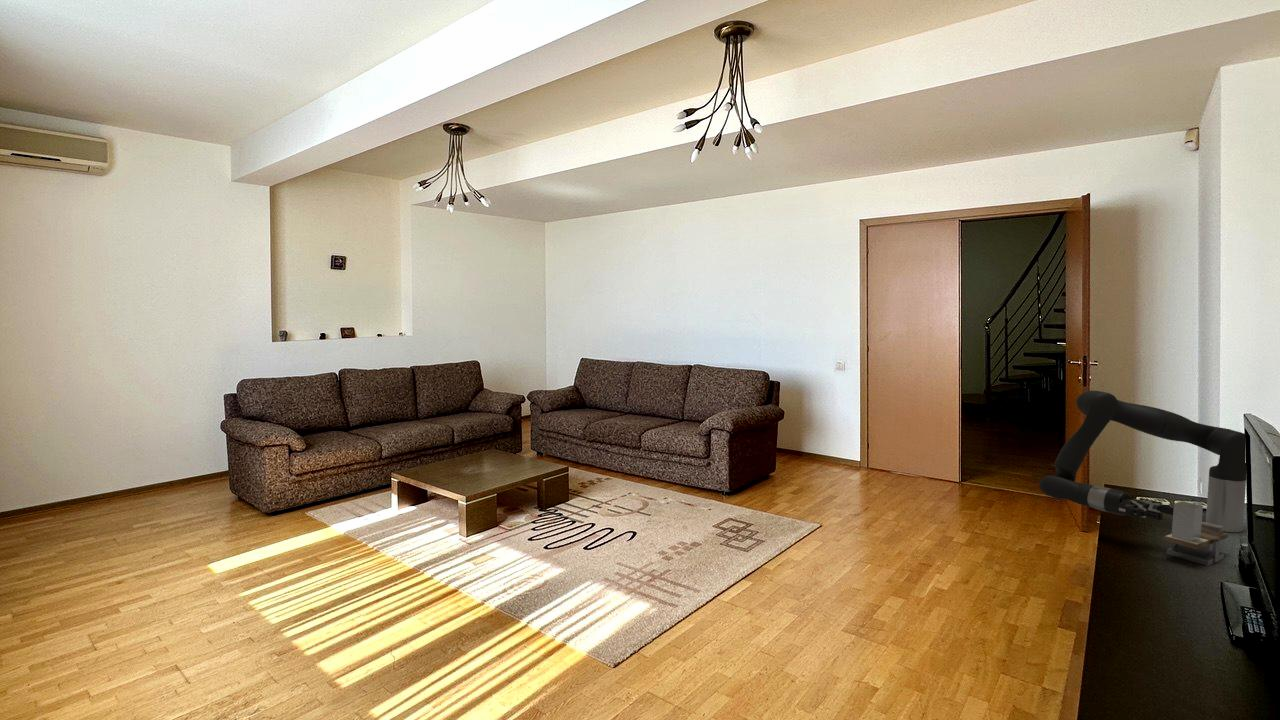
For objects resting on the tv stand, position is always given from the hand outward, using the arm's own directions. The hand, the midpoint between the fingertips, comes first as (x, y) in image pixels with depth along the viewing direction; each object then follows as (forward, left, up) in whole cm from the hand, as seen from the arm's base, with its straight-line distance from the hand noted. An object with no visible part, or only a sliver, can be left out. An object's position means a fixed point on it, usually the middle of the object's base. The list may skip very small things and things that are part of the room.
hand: (1169, 514), depth 192 cm
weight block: (0, +4, -6) cm, 7 cm away
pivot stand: (-6, +5, -13) cm, 15 cm away
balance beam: (-6, +5, -7) cm, 10 cm away
